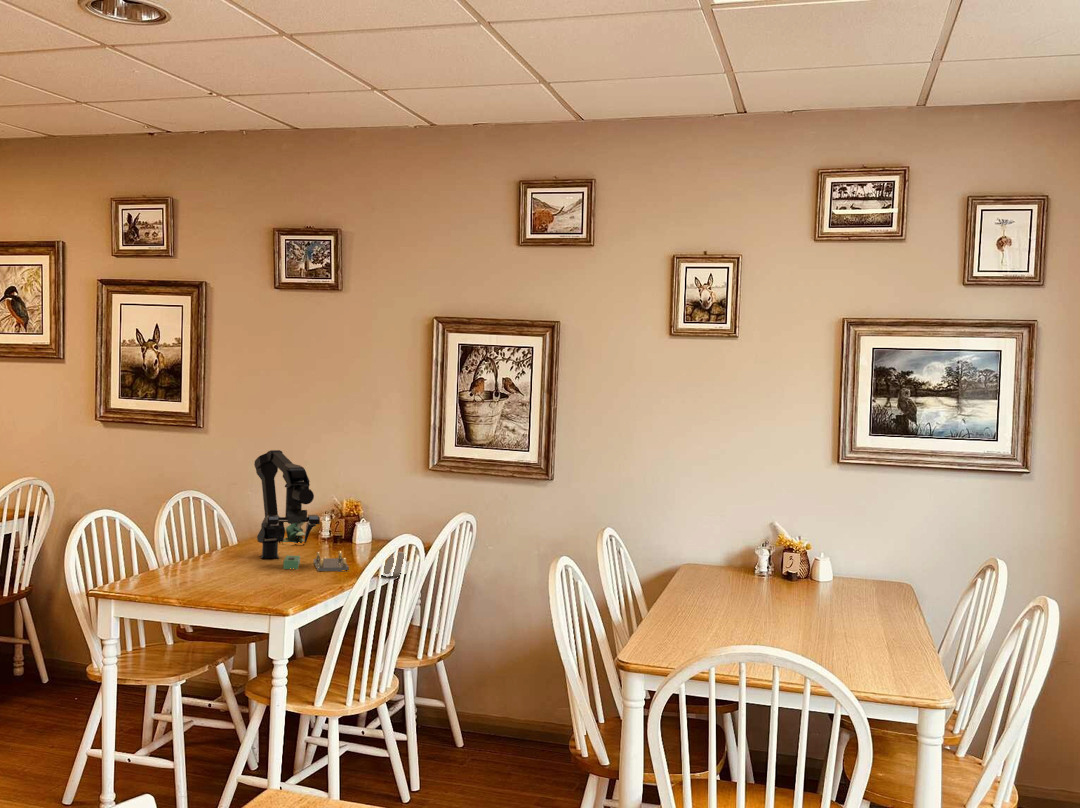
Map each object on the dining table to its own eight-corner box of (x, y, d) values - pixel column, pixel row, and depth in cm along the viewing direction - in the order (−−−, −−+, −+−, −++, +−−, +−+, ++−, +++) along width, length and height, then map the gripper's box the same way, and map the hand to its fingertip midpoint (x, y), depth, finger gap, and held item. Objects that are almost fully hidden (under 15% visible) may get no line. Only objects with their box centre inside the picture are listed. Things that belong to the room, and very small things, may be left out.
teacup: (408, 578, 345) (409, 555, 345) (378, 579, 341) (379, 556, 341) (399, 570, 358) (399, 548, 358) (370, 571, 354) (370, 549, 354)
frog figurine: (316, 548, 396) (317, 520, 396) (271, 548, 392) (272, 519, 392) (317, 540, 413) (318, 513, 413) (273, 540, 409) (274, 513, 409)
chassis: (313, 562, 365) (314, 550, 365) (343, 562, 369) (343, 550, 369) (318, 571, 349) (318, 559, 349) (348, 571, 353) (349, 558, 352)
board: (286, 564, 361) (286, 554, 361) (299, 564, 362) (300, 554, 362) (283, 570, 351) (283, 559, 351) (297, 570, 352) (297, 559, 352)
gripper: (268, 504, 345) (267, 547, 346) (321, 503, 351) (320, 546, 352) (267, 499, 356) (265, 541, 356) (318, 499, 362) (317, 541, 362)
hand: (292, 542), depth 356 cm, fingers open, 9 cm apart
